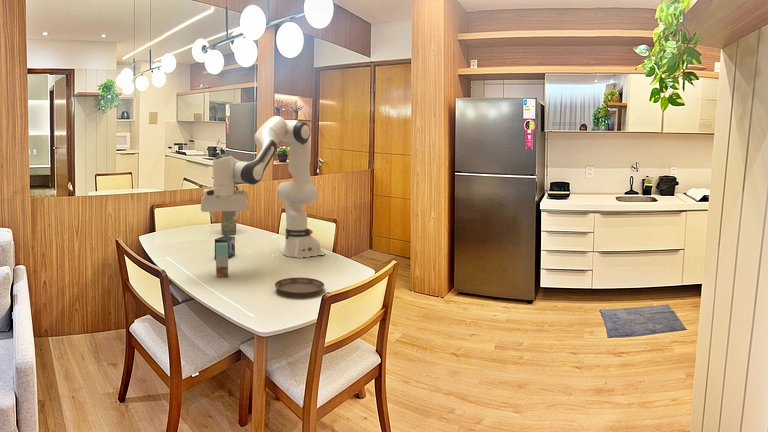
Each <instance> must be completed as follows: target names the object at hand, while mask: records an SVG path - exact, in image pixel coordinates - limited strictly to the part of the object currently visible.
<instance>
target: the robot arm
mask: <svg viewBox="0 0 768 432" xmlns="http://www.w3.org/2000/svg"><path fill="white" fill-rule="evenodd" d="M310 136H311V127H310V125H309V124H308V123H307V122H305V121H302V120H293V119H288V120H285V118H283V117H282V116H280V115H274V116H271V117H269V119H267V120H266V121H265V122H264V123H263V124H262V125H261V126H260V127H259V128H258V129H257V131H256V133H255V135H254V143H255V145H256V146H257V148H258V149H259V150H260V151H259V153H258V155H257V156H256V158H255V159H253V160H252V161H242V160H238V159H236V158H235V157H233V156H232V155H231V154H229V153H224V154H223V153H222V154H221V153H220V154H218V155H216V156H214V158H213V162H212V177H213V183H212V184H213V186H211V187H208V188H205V189H203V191H202V194H203V196H202V197H201V200H200V211H201V212H202V213H208V214H209V216H210V218H211V222H216V221H217V220H216V216H213V213H216V212H222V211H235V216H234V221H235V222H236V221H237V222H238V217H239V215H240V212H243V211H244V212H245V211H247V210H248V201H247V200H248V198H249V195H248V192H247V191H246V190H239V189H238V190H236V189H235V190H234V183H235V182H237V183H245V184H249V185H251V186H252V185H257V184H259V183H260V182H261V180H262V178H263V176H264V173H265V171H266V169H267V168H268V166H269V164H270V162H271V161H272V159H273V157H274V156H275V154H276V152H277V149H278V144H279V142H285V143H289V145H290V146H289V150H288V151H289V153H288V164H287V165H288V166H287V168H288V169H287V170H288V172H289V173H290V174H291V176H292V179H293V181H291V180H290V181H289V180H288V181H283V182H280V183H279V185H278V186H277V189H276V194H277V197H278V198H279V199H280V201H281V202H282V204H283V205H282V206H284V210H285V211H284V212H285V216H286V217H285V219H286V220H285V221H286V224H285V225H286V227H285V231H284V236H285V237H284V238H285V245H284V248H283V249H284V250H283V252H282V254H283V256H286V257H291V258H296V259H303V257H306V258H311V257H310V256H316V257H318V256H317V255H323V254H325V255H326V251H325V250H324V249H322V246H321V243H320V242H319V240H317V238H315V237H314V236H313V235H312V234H313V233H314V232H313V230H312V229H310V228H308V213H307V212H306V211H305V209H304V207H303V205H312V204H314V203H315V202H316V201H317V199H318V196H319V194H318V193H319V192H318V189H317V188H316V186H315V185H314V182H313V181H312V177H311V173H310V169H311V168H310V166H311V164H310V163H311V142H310Z"/></svg>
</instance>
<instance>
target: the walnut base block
mask: <svg viewBox="0 0 768 432" xmlns="http://www.w3.org/2000/svg"><path fill="white" fill-rule="evenodd" d="M215 272H216V273H215V275H216V278H217V279H218V278H219V279H221V278H229V266H228V267H216V266H215Z"/></svg>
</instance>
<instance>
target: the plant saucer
mask: <svg viewBox="0 0 768 432" xmlns="http://www.w3.org/2000/svg"><path fill="white" fill-rule="evenodd" d="M274 287H275V289H276V290H277V291H278V292H279V293H280V294H282V295H283V296H287V297H291V298H306V297H307V296H308V297H313V296H315V294H316V295H318V294H319V293H320V292H321V291H323V289H324V287H325V283H324V282H323V281H321V280H319V279H316V278H310V277H287V278H282V279H280V280H277V281H276V282H275V283H274ZM312 295H313V296H312ZM308 297H307V298H308Z"/></svg>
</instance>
